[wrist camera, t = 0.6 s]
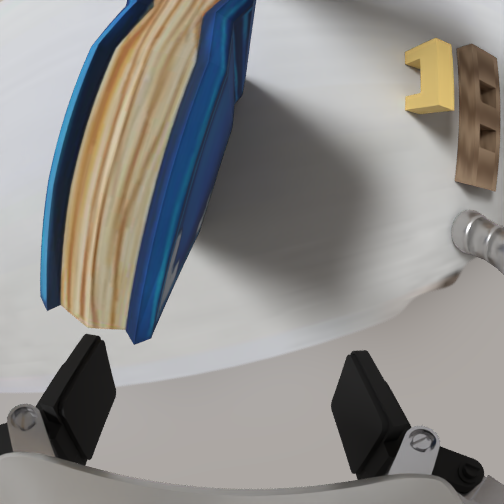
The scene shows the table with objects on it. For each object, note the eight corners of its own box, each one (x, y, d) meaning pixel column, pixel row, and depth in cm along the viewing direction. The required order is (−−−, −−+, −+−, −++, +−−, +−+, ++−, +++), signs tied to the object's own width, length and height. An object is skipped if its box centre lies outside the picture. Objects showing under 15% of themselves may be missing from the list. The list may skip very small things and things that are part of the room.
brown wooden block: (456, 48, 30) (471, 43, 26) (481, 61, 30) (496, 58, 27) (454, 181, 37) (471, 185, 33) (479, 187, 37) (495, 191, 34)
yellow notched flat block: (404, 52, 31) (435, 37, 23) (419, 57, 31) (451, 44, 23) (405, 110, 34) (438, 104, 26) (419, 114, 34) (454, 110, 26)
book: (198, 56, 31) (142, -67, 7) (253, 70, 32) (279, -50, 8) (147, 218, 37) (35, 317, 14) (199, 233, 38) (146, 361, 15)
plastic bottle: (479, 217, 39) (568, 259, 20) (462, 253, 41) (546, 308, 22) (457, 199, 38) (556, 237, 19) (439, 238, 40) (532, 292, 21)
